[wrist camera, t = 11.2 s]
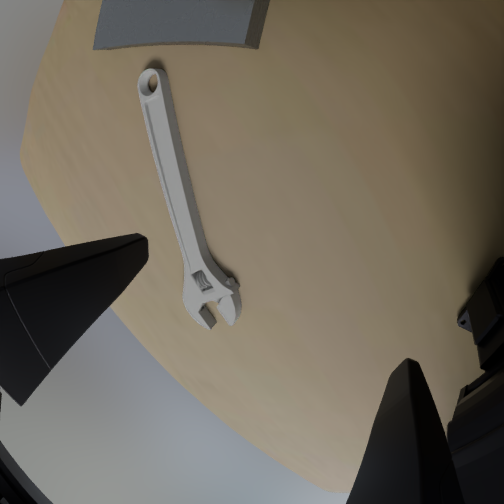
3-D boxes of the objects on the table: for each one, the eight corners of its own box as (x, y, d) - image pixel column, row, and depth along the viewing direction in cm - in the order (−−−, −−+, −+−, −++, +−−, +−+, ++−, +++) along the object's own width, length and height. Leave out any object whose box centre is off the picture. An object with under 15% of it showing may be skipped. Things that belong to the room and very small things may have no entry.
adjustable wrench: (147, 74, 19) (132, 74, 18) (207, 52, 17) (193, 49, 15) (197, 313, 31) (188, 323, 29) (249, 326, 28) (241, 338, 26)
